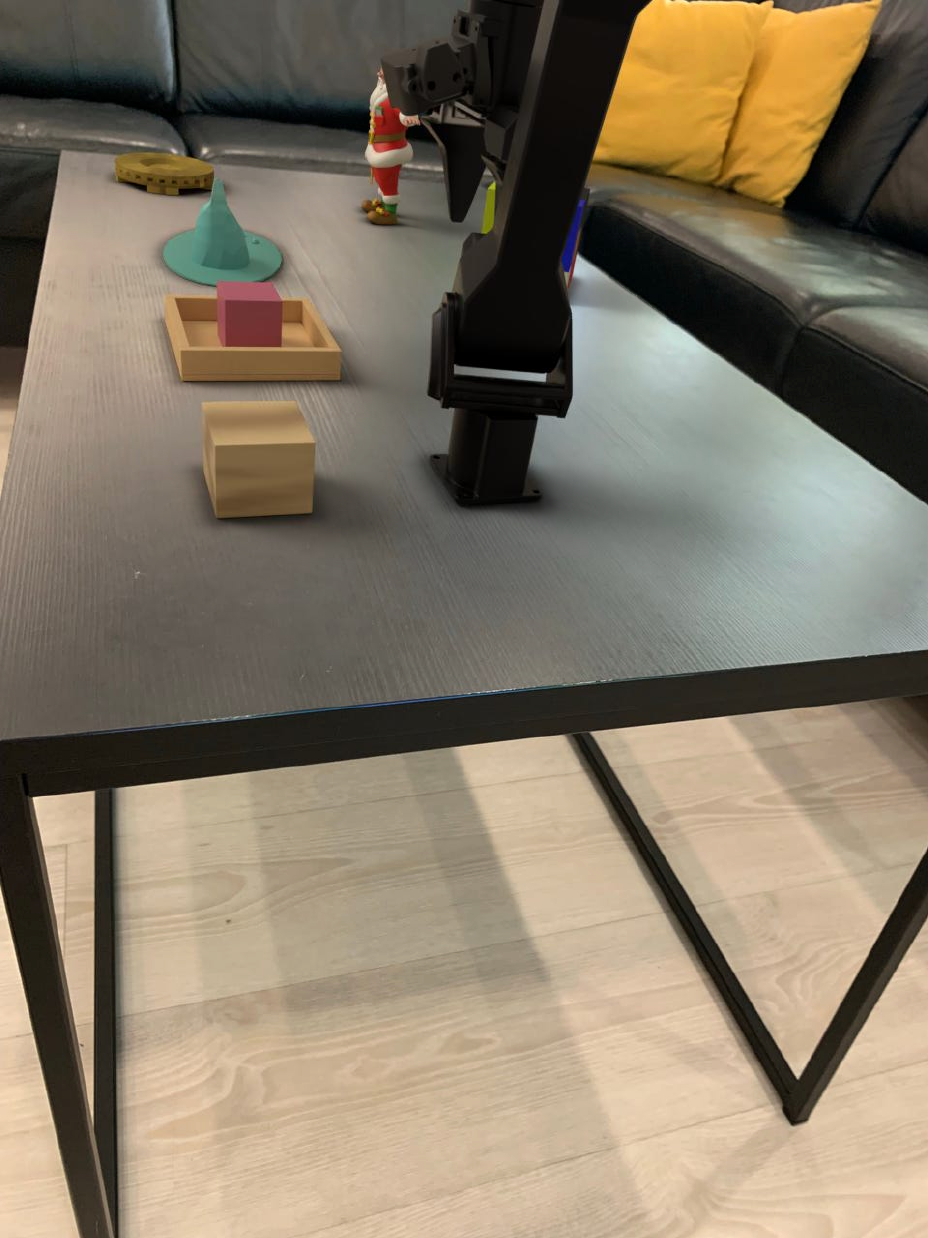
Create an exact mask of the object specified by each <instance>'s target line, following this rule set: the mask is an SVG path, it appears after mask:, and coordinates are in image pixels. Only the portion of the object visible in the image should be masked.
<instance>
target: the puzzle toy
mask: <svg viewBox="0 0 928 1238" xmlns="http://www.w3.org/2000/svg"><path fill="white" fill-rule="evenodd" d="M590 195H591V188H590V187H589V188H588V187H584V189H583V192H582V195H581V199H580V202H579V205H578V208H577V212H576V215H575V218H574V221H573V225H572V228H571V231H570V234H569V238H568V241H567V244H566V247H565V250H564V254H563V257H562V260H561V262H562V264H563V268H564V274H565V279H566V285H567V291H568V292H569V287H570V285H571V283H572V280H573V278H574V277H573V276H574V271H575V266H576V262H577V257H578V252H579V248H580V243H581V237H582V232H583V229H584V223H585V218H586V214H587V213H586V212H587V208H588V205H589V198H590ZM494 205H495V180H494V181H493V183H491V184H490V186H489V187H488V188H487V192H486V199H485V207H484V214H483V219H482V227H481V233H484V234H487V233H488V232H489V231H490V230H491V229H492V227H493V223H494Z"/></svg>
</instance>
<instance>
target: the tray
mask: <svg viewBox="0 0 928 1238" xmlns="http://www.w3.org/2000/svg"><path fill="white" fill-rule="evenodd" d="M280 298H281V299H282V301H283V309H282V347H222V345H221V342H220V339H219V337H218V327H217V295H208V294H207V295H205V294H172V293H171V294H170V293H169V294H168V293H167V294H164V295H163V299H164V316H165V317H164V320H165V321H164V322H165V326H166V329H167V332H168V337H169V341H170V344H171V348H172V351H173V354H174V358H175V362H176V365H177V369H178V373H179V376H180V380H181V382H215V381H216V382H218V381H219V382H232V381H233V382H234V381H235V382H238V381H239V382H241V381H242V382H243V381H245V382H246V381H247V382H249V381H250V382H251V381H252V382H253V381H256V382H257V381H264V382H265V381H266V382H267V381H269V382H271V381H274V382H275V381H340V380H341V368H342V352H343V351H342V350H341V348H340V346H339V345H338V343H337V341H336V340H335V338H334V336H333V335H332V333H331V332H330V330H329V328H328V327H327V325H326V323H325V322H324V321H323V319H322V317H321V316H320V314H319V312H318V310H317V309H316V308H315V306H314V304H313V302H312V301H311V300H310V298H308V297H282V296H280Z"/></svg>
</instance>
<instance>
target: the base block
mask: <svg viewBox="0 0 928 1238" xmlns="http://www.w3.org/2000/svg"><path fill="white" fill-rule="evenodd" d="M201 424H202V425H201V427H202V428H201V429H202V464H203V465H202V466H203V469H202V470H203V476H204V478H205V482H206V486H207V489H208V494H209V498H210V501H211V504H212V505H211V506H212V508H213V511H214V516H215V518H216V519H228V518H229V519H230V518H246V517H263V516H267V517H268V516H285V515H303V514H304V515H305V514H312V513H313V508H314V507H313V506H314V505H313V504H314V487H315V485H314V484H315V468H316V467H315V466H316V447H317V446H316V445H317V443H316V442H317V441H315V438H314V436H313V433H312V431H311V430H310V427H309V425H308V423H307V421H306V419H305V417H304V415H303V412H302V411H301V407H300V406H299V404H298V402H297V401H296V400H264V401H263V400H254V401H253V400H250V401H249V400H248V401H247V400H242V401H241V400H240V401H239V400H238V401H201Z"/></svg>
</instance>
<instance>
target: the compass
mask: <svg viewBox="0 0 928 1238" xmlns="http://www.w3.org/2000/svg"><path fill="white" fill-rule="evenodd" d="M114 170H115V171H114V172H115V180H116V182H117V183H135V184H138V185H144V186H146V193H151V194H158V195H167V196H168V195H169V196H179V194H180V193H179V189H180V190H181V189H203V190H207V191H208V190H210V191H212V188H213V182H214V179H215V168H214V166H213V165H211V164H210V163H208V162H206V161H203V160H200V159H197V158H193V157H189V156H184V155H179V154H172V153H166V152H165V153H163V152H149V151H147V152H142V151H141V152H129V153H122V154H120V155H117V156H116V157H114Z"/></svg>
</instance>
